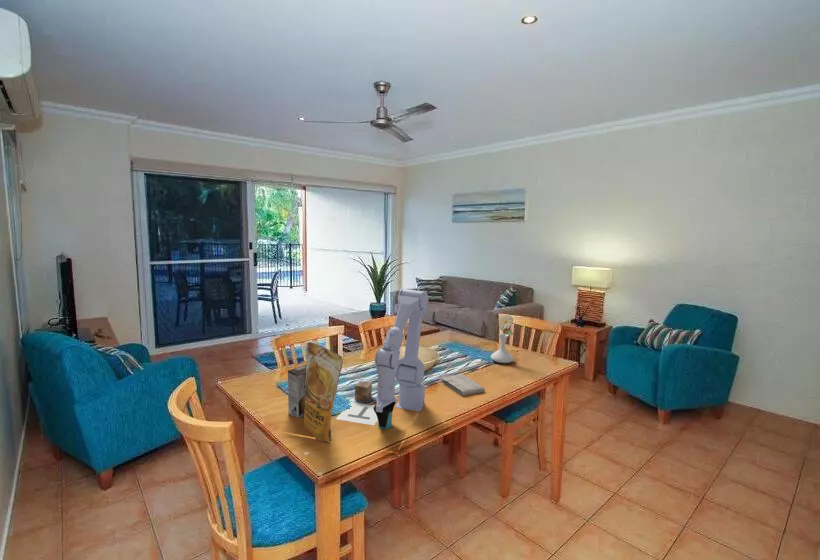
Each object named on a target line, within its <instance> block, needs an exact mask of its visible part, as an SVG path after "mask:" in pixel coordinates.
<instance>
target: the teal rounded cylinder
mask: <svg viewBox="0 0 820 560" xmlns="http://www.w3.org/2000/svg"><path fill="white" fill-rule="evenodd" d="M377 422H378V421H377ZM377 425H378V427H377V428H379V429H381V430H388V429H390V428H391V429H392V427H393V426H392V425H393V412H391V411H390V413H389V415H388V420H387V425H386V427H385V428H384V427H380V426H379V422H378V423H377Z"/></svg>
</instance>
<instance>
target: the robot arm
mask: <svg viewBox="0 0 820 560" xmlns="http://www.w3.org/2000/svg"><path fill="white" fill-rule="evenodd" d="M397 305H398V309H397V314H396V317H395V320H394V323H393V327H392V328H389V329H388V330H387V333H386V335H385V338H384V340H383V341H384V342H383V344H382V345H381V348H379V349H377V351H376V354H375V357H374V363H375V365H376V367H375V368H376V372H377V392H376V394H377V395H376V404H375V405H374V411H375V413H376V415H377V418H378V421H377V422H379V426H380V427H384V428H385V427H386V425H387V420H388V415H389V413H390V411H391V412H392V413H393V411H394V408H396V409H403V410H409V411H414V412H415V411H416V412H419V413H420V412H422V409H423V408H424V405H425V403H426V402H425V398H426V397H425V395H426V385H425V384H423V381H424V378H425V364H424V362H423V361H421V359H419V348H420V340H421V333H422V332H421V331H422V324H423V315H425V314H427V312H428V305H429V295H428V292H427V291H426V290H423V291H422V290H416V289H415V290H414V289H410V288H409V289H408V288H400V290H399V291H398V294H397ZM407 325H408V326H407ZM406 326H407V330H406V331H407V332H406V340H405V348H404V349H405V350H404V356H403V357H402V358H400V353H401V351H400V350H401V346H402V344H403V341H404V338H405V333H404V330H405V328H406ZM396 380H397V383H398V384H399V388H398V389H399V390H398V395H399V396H398V397H397V396H395V395H396V393H395V392H396V390H395V389H396V387H395V386H396Z"/></svg>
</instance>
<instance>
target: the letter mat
mask: <svg viewBox="0 0 820 560" xmlns="http://www.w3.org/2000/svg"><path fill="white" fill-rule="evenodd" d="M350 404H351V405H350ZM348 405H350V406H352V407H350V409H347V410H345V411H343V410H342V411H343V412H342V411H341V412H340V413H339V415H338V416H337V417H336V418H335V420H339V421H344V422H352V423H357V424H361V425H367V426H368V425H370V426H375V425H376V424H377V422H378V418H377V415H376V413H375V411H374V406H375V405H374V404H367V403H362V402H361V403H360V402H355V401H354V402H353V401H350V402H349V403H348Z"/></svg>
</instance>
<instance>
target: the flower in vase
mask: <svg viewBox="0 0 820 560" xmlns="http://www.w3.org/2000/svg"><path fill="white" fill-rule="evenodd" d="M513 324H514V318H513V316H511V315H510V314H503V315H502V316H500V318H499V320H498V327H499V329H500V330H501V331H502V332H504V333H501V332H500V333H498V336H499V338H500V347H499V348H498V349H497V350H496V351H494V352H493V353H492V354H491V355H490V358H491V360H492V361H493V362H496V363H501V364H510V363H512V362H514V357H513V355H512V354H511V353H509V351H507V349H506V342H507V339H508V337H509V336H514V334H513V331H512V329H510V328H511V327H512V325H513ZM505 330H506V331H505Z"/></svg>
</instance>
